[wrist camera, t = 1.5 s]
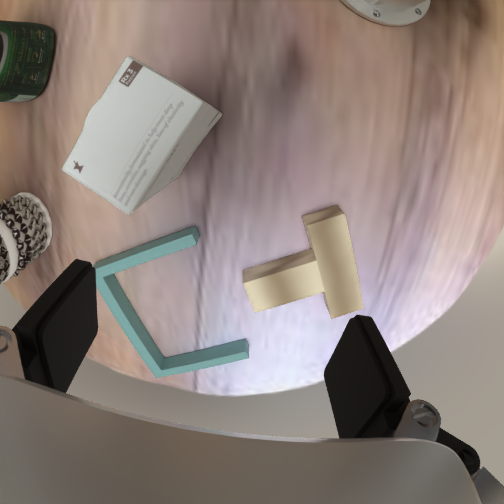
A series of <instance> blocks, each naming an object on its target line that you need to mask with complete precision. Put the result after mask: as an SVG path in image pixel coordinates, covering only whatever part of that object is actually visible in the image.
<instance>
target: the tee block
mask: <svg viewBox="0 0 504 504" xmlns="http://www.w3.org/2000/svg"><path fill="white" fill-rule="evenodd" d="M302 219H303V222H304V225H305V229H306V232H307V236H308V239H309V243H310V247H311V249H309V250H305V251H302V252H299V253H296V254H293V255H290V256H287V257H283V258H280V259H277V260H274V261H271V262H267V263H264V264H261V265H258V266H255V267H251V268H248V269H245V270H243V285H244V287H245V290H246V292H247V295H248V297H249V300H250V302H251V304H252V307H253V309H254V312H255V313H256V312H260V311H263V310H267V309H270V308H273V307H277V306H280V305H283V304H287V303H290V302H293V301H296V300H300V299H303V298H306V297H309V296H312V295H316V294H319V293H322V292H323V295H324V299H325V303H326V306H327V309H328V311H329V314H330V316H331V319H333V318H336V317H339V316H342V315H345V314H348V313H351V312H354V311H357V310H360V309H363V302H362V296H361V290H360V284H359V279H358V273H357V268H356V263H355V258H354V253H353V248H352V243H351V239H350V234H349V230H348V225H347V221H346V216H345V213H344V212H343V211H342V210H341V209H340V208H339V207H338V206H337V205H336V206H332V207H329V208H326V209H323V210H320V211H316V212H313V213H310V214H307V215H304V216H302Z"/></svg>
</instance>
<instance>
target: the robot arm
mask: <svg viewBox="0 0 504 504" xmlns="http://www.w3.org/2000/svg"><path fill="white" fill-rule="evenodd" d="M341 1H342V2H343V3H344V4H345V5H346V6H347V7H348V8H350V9H351V10H352V11H354V12H355V13H357V14H358V15H360V16H362V17H364V18H366V19H368V20H370V21H373V22H376V23H378V24H382V25H387V26H404V25H409V24H411V23H414V22H416V21H418V20H419V19H421V18H422V17H423V16H424V15H425V14H426V13H427V11H428V9H429V7H430V2H431V0H341ZM373 14H374V15H375V16H376V17H375V16H374V15H373ZM97 331H98V319H97V299H96V269H95V268H94V267H92V264H91V263H90V262H87V261H83V260H79V259H76V260H74V261H73V262H72V263H71V264H70V265H69V266H68V267H67V268H66V269H65V271H64V272H63V273H62V274H61V275H60V276H59V277H58V278H57V279H56V280H55V281H54V282H53V283H52V284H51V285H50V286H49V288H48V289H47V290H46V291H45V292H44V293H43V294H42V295H41V296H40V297H39V299H38V300H37V301H36V302H35V303H34V304H33V305H32V306H31V308H30V309H29V310H28V311H27V312H26V313H25V315H24V316H23V317H22V318H21V320H19V322H18V323H17V324H16V325H15V327H14V328H13V329H12V330H11V329H9V328H8V327H5V326H0V504H504V486H503V485H502V484H501V483H500V482H499V481H498V480H497V479H496V478H495V477H494V476H493V475H492V474H491V473H490V472H489V471H488V470H487V469H486V468H484V467H482V468H481V469H480V468H479V467H480V459H479V456H478V454H477V452H476V451H475V450H474V449H473V448H472V447H471V446H469V445H468V444H466V443H464V442H463V441H461V440H459V439H457V438H456V437H454V436H453V435H451V434H449V433H448V432H446V431H445V430H443V429H441V428H440V424H441V417H440V414H439V412H438V411H437V409H436V408H435V407H434V406H432V405H431V404H430V403H428V402H426V401H424V400H419V399H417V400H413V401H411V402H410V400H409V396H410V395H411V393H410V391H409V389H408V387H407V384H406V383H405V380H404V378H403V376H402V374H401V372H400V371H399V368H398V367H397V364H396V362H395V361H394V358H393V357H392V355H391V353H390V351H389V349H388V347H387V345H386V343H385V341H384V339H383V337H382V335H381V334H380V332H379V330H378V328H377V326H376V324H375V322H374V321H373V319H372V318H371V317H369V316H362V315H356V316H355V317H354V318H351V319H350V320H349V322H348V324H347V326H346V328H345V330H344V332H343V334H342V336H341V338H340V340H339V342H338V344H337V346H336V348H335V350H334V352H333V354H332V356H331V358H330V360H329V362H328V364H327V366H326V368H325V371H324V379H325V383H326V386H327V391H328V394H329V398H330V402H331V406H332V410H333V414H334V418H335V422H336V426H337V430H338V435H339V439H324V438H322V439H321V438H293V437H277V436H264V435H253V434H244V433H235V432H228V431H220V430H213V429H206V428H201V427H195V426H189V425H183V424H178V423H173V422H168V421H164V420H159V419H154V418H150V417H146V416H142V415H137V414H134V413H130V412H126V411H122V410H118V409H115V408H111V407H108V406H104V405H101V404H98V403H95V402H91V401H88V400H84V399H81V398H78V397H75V396H72V395H69V394H66V392H67V390H68V388H69V386H70V384H71V382H72V380H73V378H74V376H75V374H76V372H77V370H78V368H79V366H80V364H81V362H82V361H83V359H84V357H85V355H86V353H87V351H88V349H89V348H90V346H91V344H92V342H93V340H94V339H95V337H96V335H97Z"/></svg>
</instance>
